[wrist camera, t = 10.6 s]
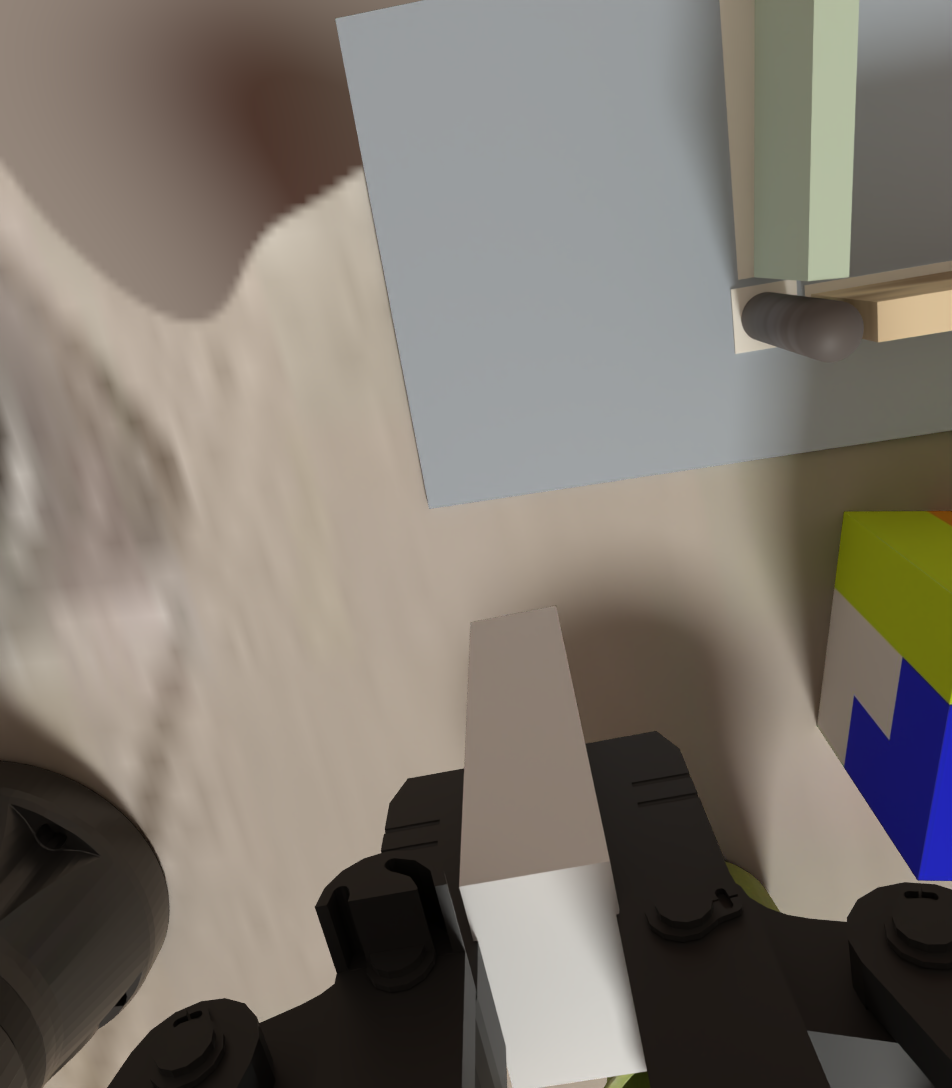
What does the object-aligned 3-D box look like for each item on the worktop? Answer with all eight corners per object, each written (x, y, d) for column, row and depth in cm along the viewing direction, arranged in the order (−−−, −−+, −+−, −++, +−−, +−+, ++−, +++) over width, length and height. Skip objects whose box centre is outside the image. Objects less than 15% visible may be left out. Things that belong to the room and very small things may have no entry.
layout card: (429, 506, 35) (428, 509, 35) (336, 20, 30) (334, 17, 29) (1139, 400, 33) (1146, 401, 32) (1182, -154, 27) (1191, -160, 27)
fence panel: (751, -83, 27) (819, -180, 21) (795, -89, 27) (876, -188, 21) (751, 277, 31) (808, 282, 25) (790, 273, 31) (857, 276, 25)
